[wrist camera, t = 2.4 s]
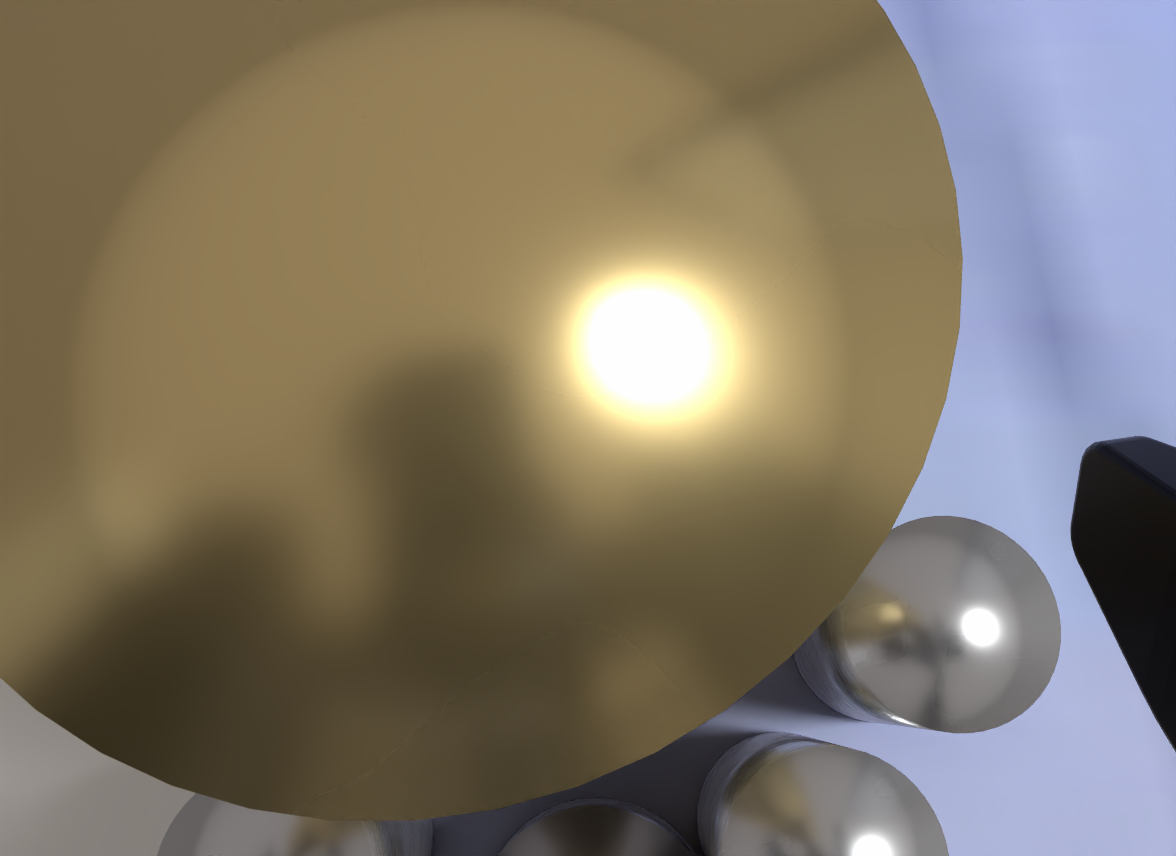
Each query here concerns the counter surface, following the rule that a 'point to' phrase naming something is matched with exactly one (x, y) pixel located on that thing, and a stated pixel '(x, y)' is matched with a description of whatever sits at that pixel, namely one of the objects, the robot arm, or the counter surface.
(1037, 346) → the counter surface
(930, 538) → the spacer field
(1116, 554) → the robot arm
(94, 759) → the tile
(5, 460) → the brass tube
